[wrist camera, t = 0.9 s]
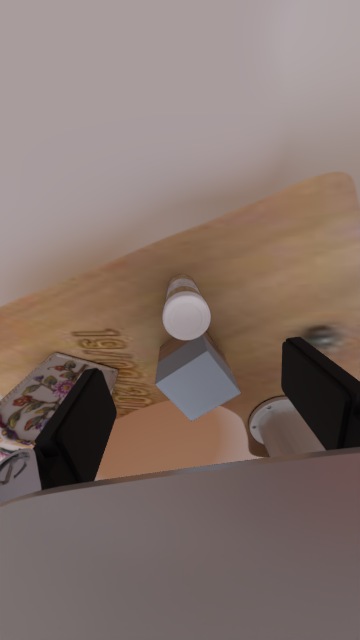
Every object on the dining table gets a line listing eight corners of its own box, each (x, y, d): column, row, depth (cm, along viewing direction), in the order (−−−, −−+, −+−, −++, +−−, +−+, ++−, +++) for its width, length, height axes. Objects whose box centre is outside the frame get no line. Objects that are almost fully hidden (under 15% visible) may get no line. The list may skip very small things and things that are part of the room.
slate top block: (230, 370, 31) (240, 393, 26) (189, 395, 32) (191, 421, 28) (201, 333, 28) (207, 350, 24) (158, 362, 30) (154, 384, 25)
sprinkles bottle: (184, 308, 32) (190, 350, 19) (161, 291, 31) (152, 324, 18) (202, 285, 31) (221, 315, 18) (179, 267, 30) (182, 285, 17)
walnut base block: (223, 354, 35) (230, 370, 31) (187, 376, 37) (188, 395, 32) (198, 320, 33) (201, 333, 28) (160, 346, 35) (158, 362, 30)
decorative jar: (121, 368, 36) (73, 478, 19) (107, 414, 40) (57, 541, 23) (52, 349, 34) (-66, 451, 17) (45, 399, 38) (-59, 523, 21)
